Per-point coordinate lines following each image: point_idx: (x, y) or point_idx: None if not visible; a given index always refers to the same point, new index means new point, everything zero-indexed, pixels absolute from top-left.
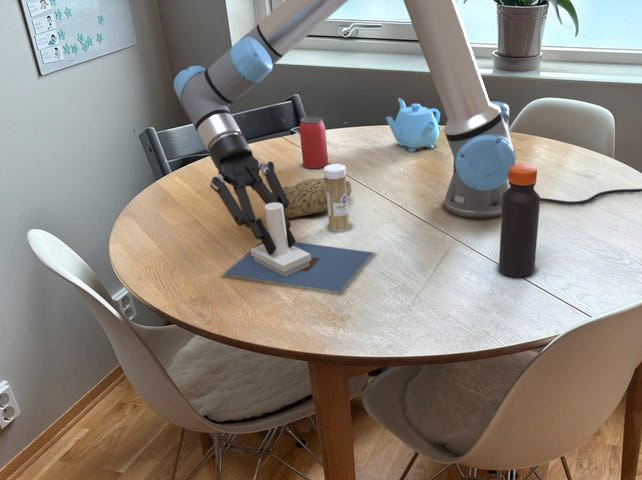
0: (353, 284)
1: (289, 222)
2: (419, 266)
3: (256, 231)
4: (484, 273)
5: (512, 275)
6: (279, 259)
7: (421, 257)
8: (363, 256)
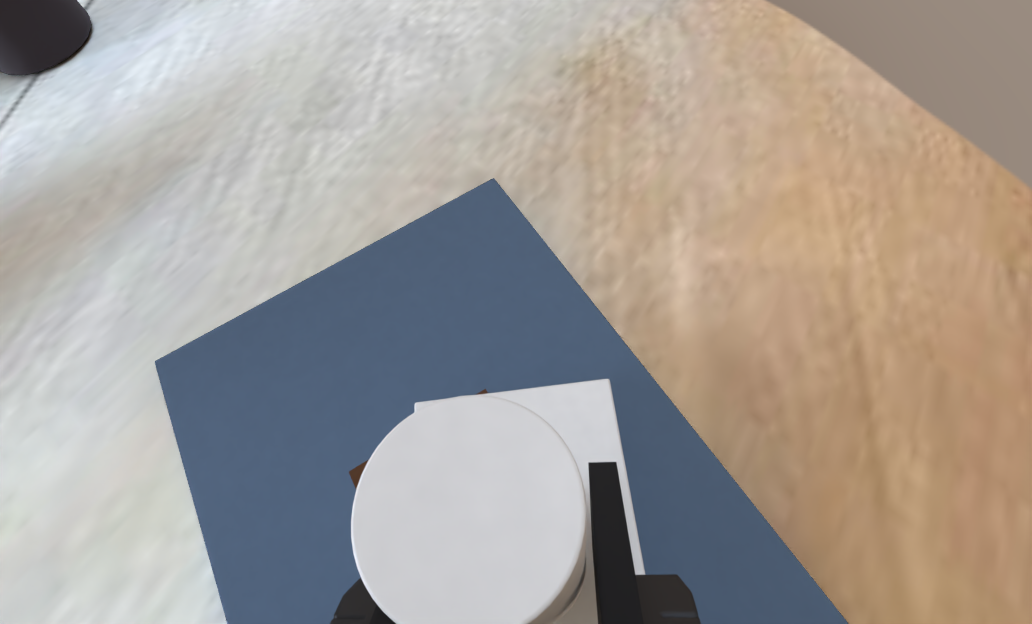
0: (408, 213)
1: (341, 605)
2: (157, 191)
3: (689, 616)
4: (102, 69)
5: (87, 16)
6: (587, 460)
7: (89, 237)
8: (209, 355)
